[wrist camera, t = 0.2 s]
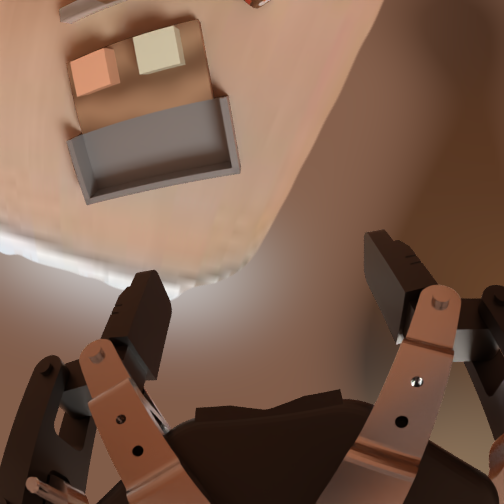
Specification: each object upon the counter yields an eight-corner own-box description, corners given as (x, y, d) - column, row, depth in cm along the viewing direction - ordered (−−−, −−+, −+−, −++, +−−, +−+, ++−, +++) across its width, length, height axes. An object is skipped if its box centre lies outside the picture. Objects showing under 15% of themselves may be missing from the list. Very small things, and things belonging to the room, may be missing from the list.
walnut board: (73, 63, 30) (66, 63, 28) (200, 22, 28) (197, 19, 27) (89, 131, 35) (82, 134, 33) (214, 98, 34) (212, 99, 32)
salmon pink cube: (82, 62, 28) (70, 62, 25) (114, 49, 28) (103, 47, 25) (88, 94, 30) (77, 96, 28) (120, 82, 30) (110, 83, 28)
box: (78, 135, 35) (66, 141, 32) (228, 95, 34) (226, 97, 31) (97, 195, 39) (86, 205, 36) (240, 165, 38) (240, 173, 35)
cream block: (141, 40, 28) (132, 37, 25) (179, 29, 27) (173, 25, 25) (147, 74, 30) (139, 74, 27) (185, 64, 30) (180, 63, 27)
